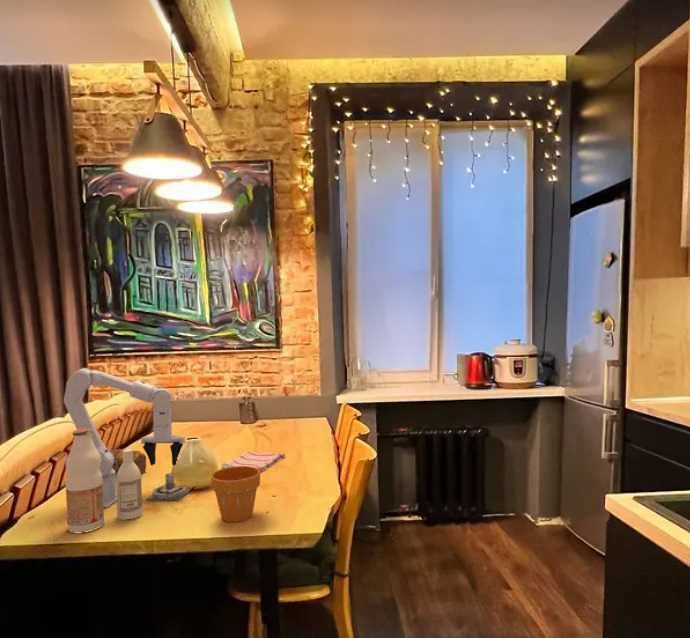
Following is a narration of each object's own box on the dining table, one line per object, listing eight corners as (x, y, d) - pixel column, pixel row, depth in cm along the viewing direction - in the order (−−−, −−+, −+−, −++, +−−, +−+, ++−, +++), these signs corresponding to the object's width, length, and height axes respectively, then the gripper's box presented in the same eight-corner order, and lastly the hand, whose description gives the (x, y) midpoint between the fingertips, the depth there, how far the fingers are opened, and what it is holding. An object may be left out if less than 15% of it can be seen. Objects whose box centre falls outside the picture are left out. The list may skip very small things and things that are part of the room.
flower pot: (240, 504, 163) (239, 463, 163) (271, 514, 154) (269, 470, 154) (202, 519, 152) (201, 475, 152) (233, 530, 143) (231, 484, 143)
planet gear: (177, 495, 170) (177, 477, 170) (156, 496, 170) (155, 478, 170) (183, 488, 177) (183, 470, 177) (163, 489, 177) (162, 471, 177)
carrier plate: (179, 501, 167) (178, 489, 167) (146, 501, 168) (145, 489, 168) (196, 485, 182) (196, 474, 182) (166, 485, 183) (165, 474, 183)
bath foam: (146, 515, 156) (144, 449, 156) (123, 523, 151) (121, 454, 150) (136, 510, 161) (133, 446, 160) (113, 517, 155) (111, 450, 155)
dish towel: (219, 472, 199) (219, 463, 199) (250, 455, 221) (249, 447, 221) (259, 475, 193) (258, 466, 193) (286, 458, 215) (285, 449, 215)
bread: (86, 480, 192) (85, 454, 192) (102, 471, 203) (101, 446, 203) (134, 480, 190) (133, 453, 190) (148, 471, 201) (147, 446, 201)
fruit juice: (74, 537, 142) (70, 435, 141) (62, 528, 148) (58, 431, 148) (109, 526, 149) (105, 429, 148) (96, 518, 155) (92, 425, 155)
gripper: (188, 421, 178) (189, 461, 178) (147, 422, 179) (148, 461, 179) (179, 426, 171) (180, 467, 171) (137, 426, 172) (138, 467, 172)
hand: (163, 464), depth 175 cm, fingers open, 7 cm apart
